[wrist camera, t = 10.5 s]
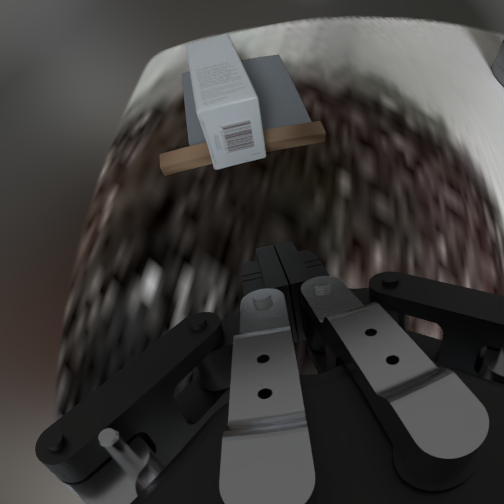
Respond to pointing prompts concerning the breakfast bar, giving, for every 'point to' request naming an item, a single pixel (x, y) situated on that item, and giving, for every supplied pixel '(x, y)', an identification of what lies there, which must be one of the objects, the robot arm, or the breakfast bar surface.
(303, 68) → the breakfast bar surface
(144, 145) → the breakfast bar surface
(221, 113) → the skincare box
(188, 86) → the grey mat
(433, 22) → the breakfast bar surface
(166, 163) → the walnut strip
